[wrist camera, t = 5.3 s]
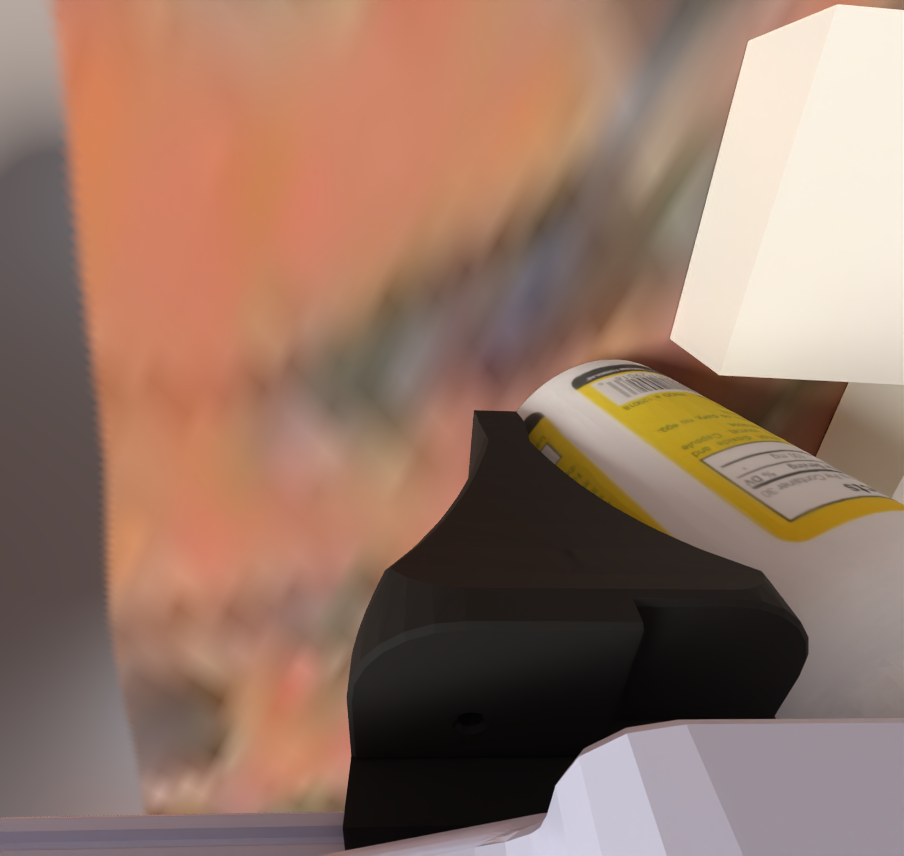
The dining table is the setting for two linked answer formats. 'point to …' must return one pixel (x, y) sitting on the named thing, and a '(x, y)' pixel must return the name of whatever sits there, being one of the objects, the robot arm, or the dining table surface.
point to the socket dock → (813, 231)
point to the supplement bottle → (745, 518)
